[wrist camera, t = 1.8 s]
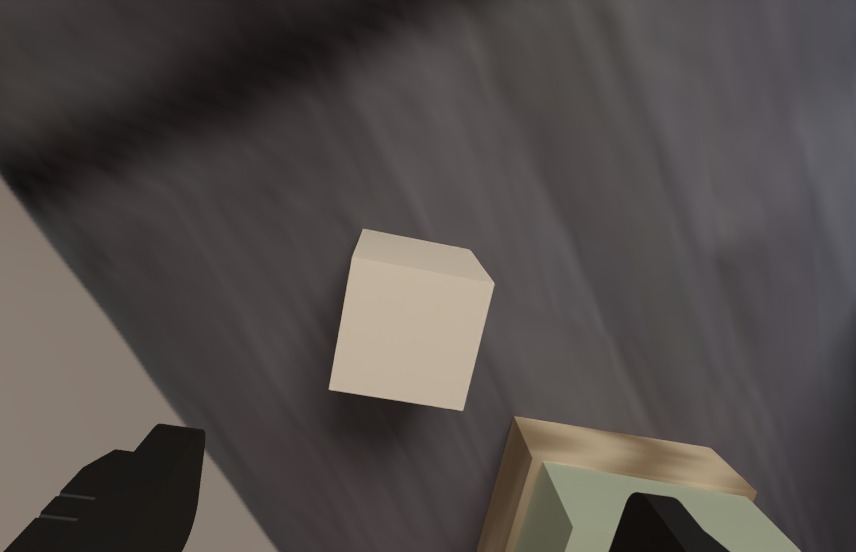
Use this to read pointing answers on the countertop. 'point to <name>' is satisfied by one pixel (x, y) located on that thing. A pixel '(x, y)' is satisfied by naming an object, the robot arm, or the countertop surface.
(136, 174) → the countertop surface
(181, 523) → the robot arm
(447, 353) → the cream block
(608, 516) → the sage slab
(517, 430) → the brown wooden slab
